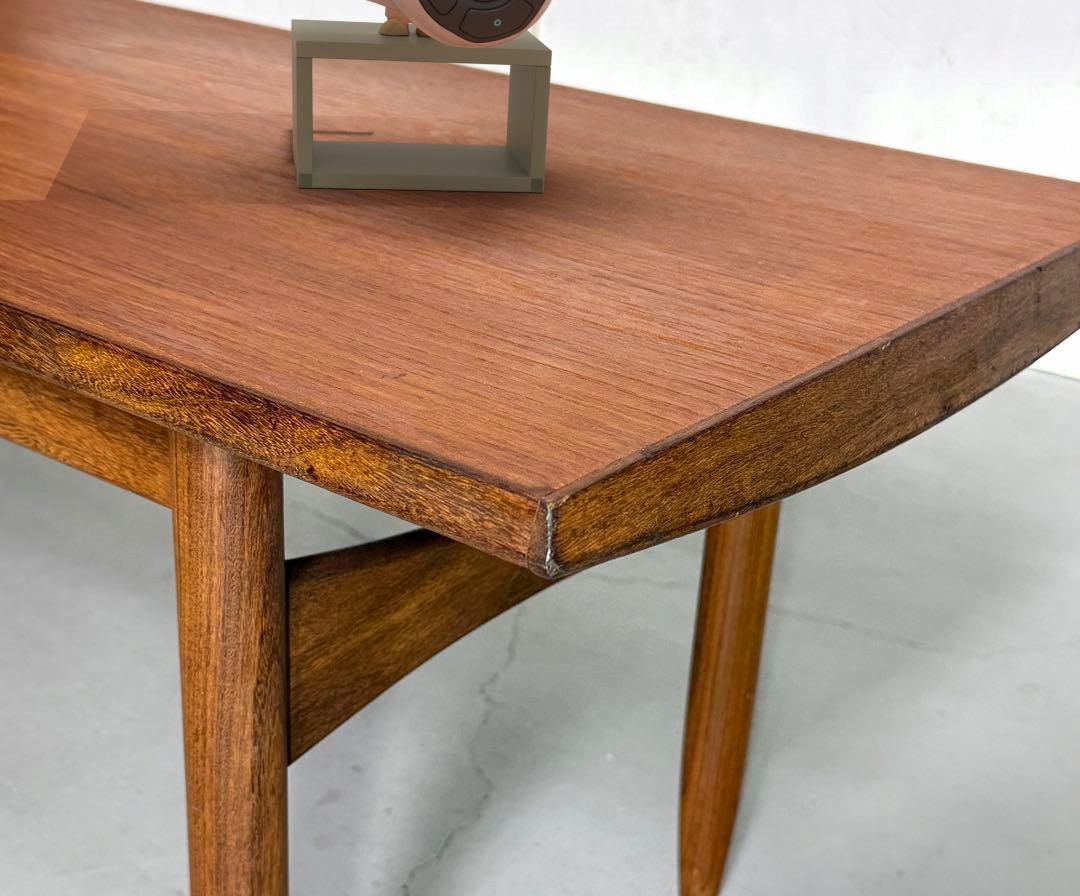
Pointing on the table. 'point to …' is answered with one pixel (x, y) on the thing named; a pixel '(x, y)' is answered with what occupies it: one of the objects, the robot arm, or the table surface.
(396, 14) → the grandmother figurine
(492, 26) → the robot arm
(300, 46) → the frame
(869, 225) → the table surface
